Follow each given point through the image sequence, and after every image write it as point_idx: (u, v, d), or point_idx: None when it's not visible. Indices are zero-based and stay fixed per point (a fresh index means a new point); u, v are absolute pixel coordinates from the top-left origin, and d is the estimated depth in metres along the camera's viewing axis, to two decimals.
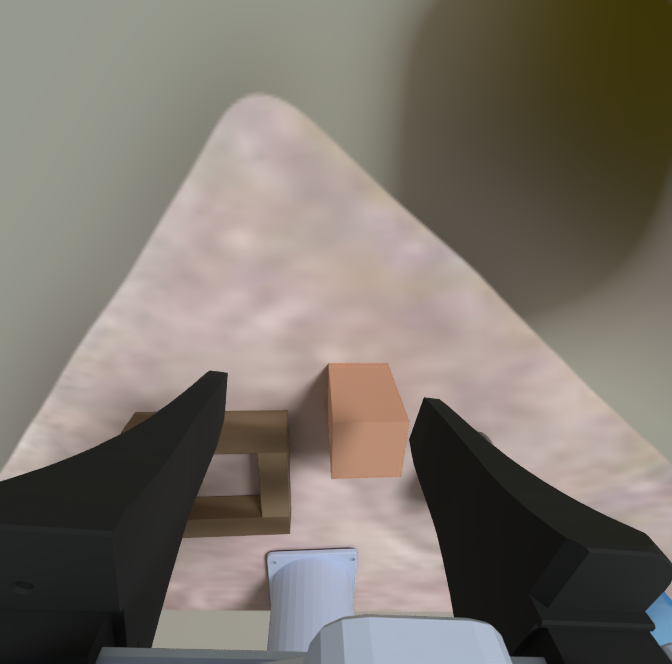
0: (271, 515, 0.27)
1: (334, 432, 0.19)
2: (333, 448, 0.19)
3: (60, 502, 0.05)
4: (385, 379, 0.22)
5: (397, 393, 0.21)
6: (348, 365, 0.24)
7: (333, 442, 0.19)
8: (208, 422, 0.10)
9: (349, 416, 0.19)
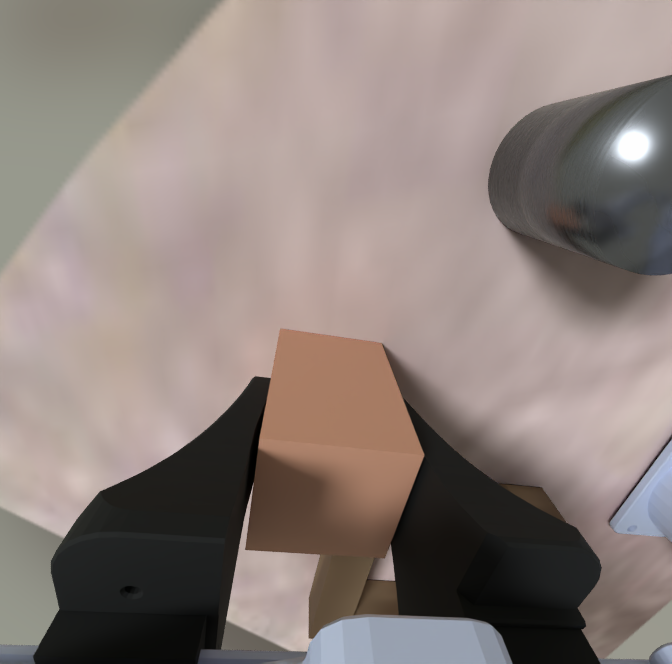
0: None
1: (269, 549, 0.10)
2: (308, 552, 0.10)
3: (169, 510, 0.05)
4: None
5: (270, 381, 0.11)
6: None
7: (295, 550, 0.10)
8: None
9: None
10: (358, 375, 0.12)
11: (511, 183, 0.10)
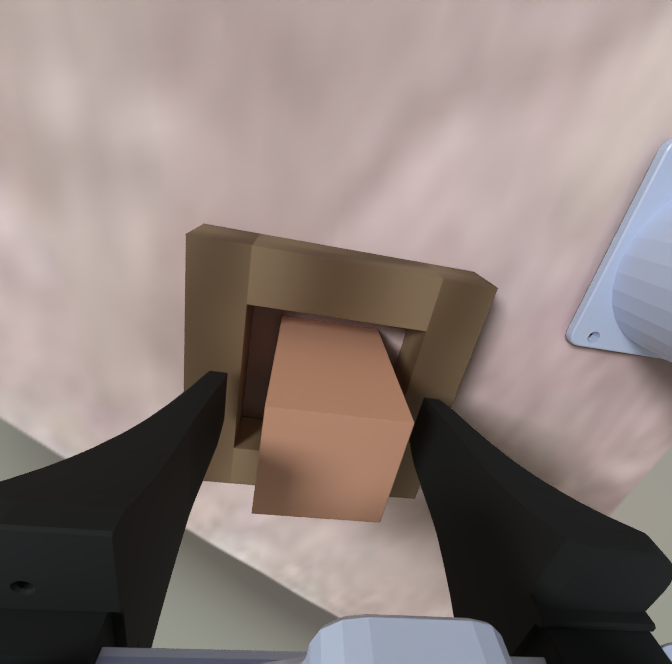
0: (426, 313, 0.13)
1: (273, 513, 0.11)
2: (309, 516, 0.11)
3: (60, 502, 0.05)
4: None
5: None
6: None
7: (297, 514, 0.11)
8: (208, 422, 0.10)
9: None
10: (355, 356, 0.12)
11: None
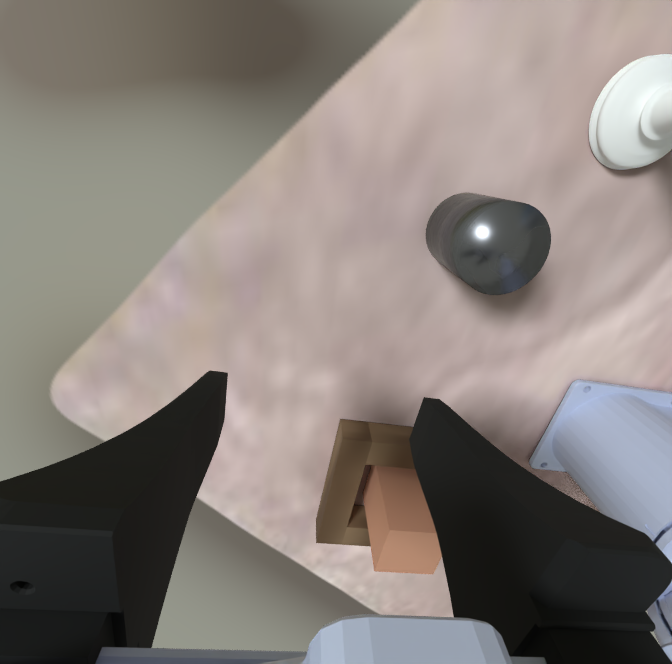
0: None
1: (384, 570, 0.23)
2: (400, 572, 0.23)
3: (61, 502, 0.05)
4: (376, 482, 0.25)
5: (381, 495, 0.24)
6: (366, 484, 0.28)
7: (394, 571, 0.23)
8: (208, 422, 0.10)
9: (376, 555, 0.23)
10: (418, 488, 0.25)
11: (434, 240, 0.19)
